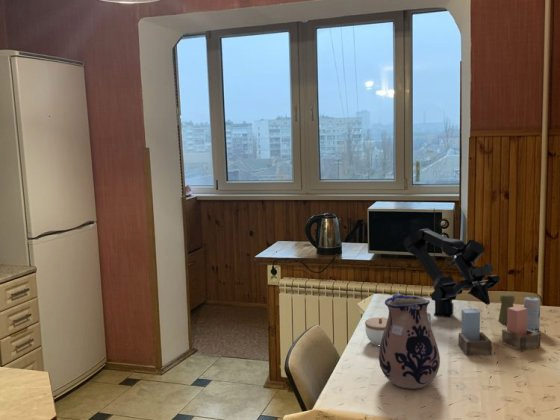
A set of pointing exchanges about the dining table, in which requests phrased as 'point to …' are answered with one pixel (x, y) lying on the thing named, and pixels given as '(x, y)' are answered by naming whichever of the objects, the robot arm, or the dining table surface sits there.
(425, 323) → the ceramic pitcher
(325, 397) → the dining table surface
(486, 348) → the grey brown open box
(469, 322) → the blue-grey rectangular block
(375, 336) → the lidded jar
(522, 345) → the grey-brown wooden tray
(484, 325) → the dining table surface
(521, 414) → the dining table surface
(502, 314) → the olive green cylinder
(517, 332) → the salmon pink block
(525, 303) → the energy drink
